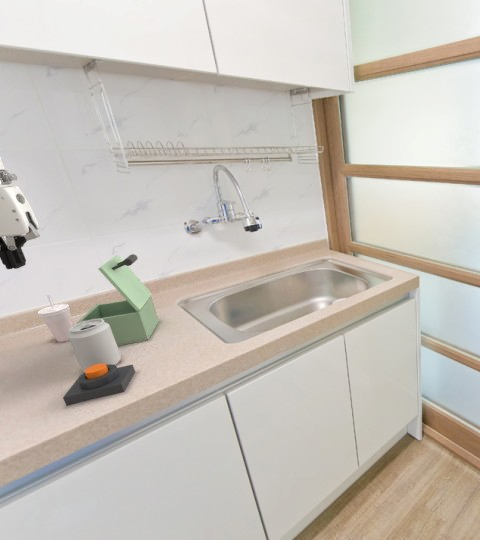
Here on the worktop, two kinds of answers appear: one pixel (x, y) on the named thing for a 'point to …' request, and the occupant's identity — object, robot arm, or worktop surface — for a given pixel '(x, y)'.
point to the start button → (96, 371)
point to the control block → (100, 385)
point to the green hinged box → (126, 320)
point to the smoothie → (57, 320)
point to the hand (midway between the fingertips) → (16, 266)
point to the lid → (126, 280)
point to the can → (93, 343)
